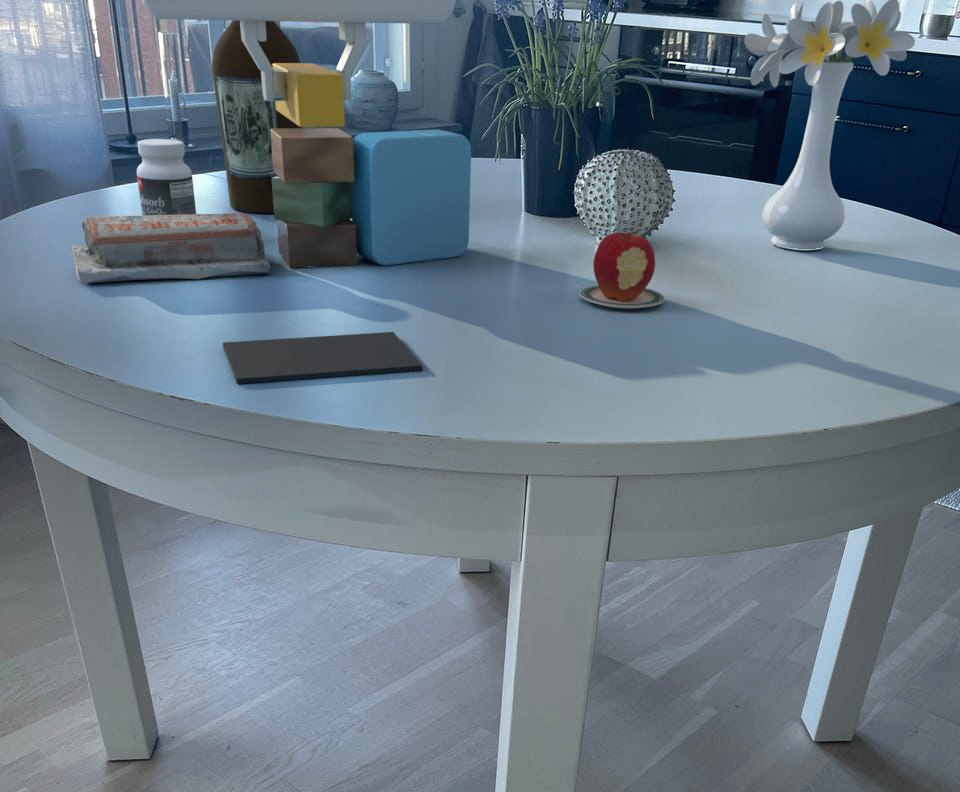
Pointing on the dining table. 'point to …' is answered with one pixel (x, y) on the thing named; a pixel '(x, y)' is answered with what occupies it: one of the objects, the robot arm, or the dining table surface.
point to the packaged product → (169, 247)
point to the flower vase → (821, 105)
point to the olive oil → (248, 115)
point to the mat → (318, 357)
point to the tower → (314, 196)
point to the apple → (623, 273)
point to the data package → (411, 195)
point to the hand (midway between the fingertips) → (308, 100)
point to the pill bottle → (164, 178)
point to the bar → (312, 95)
